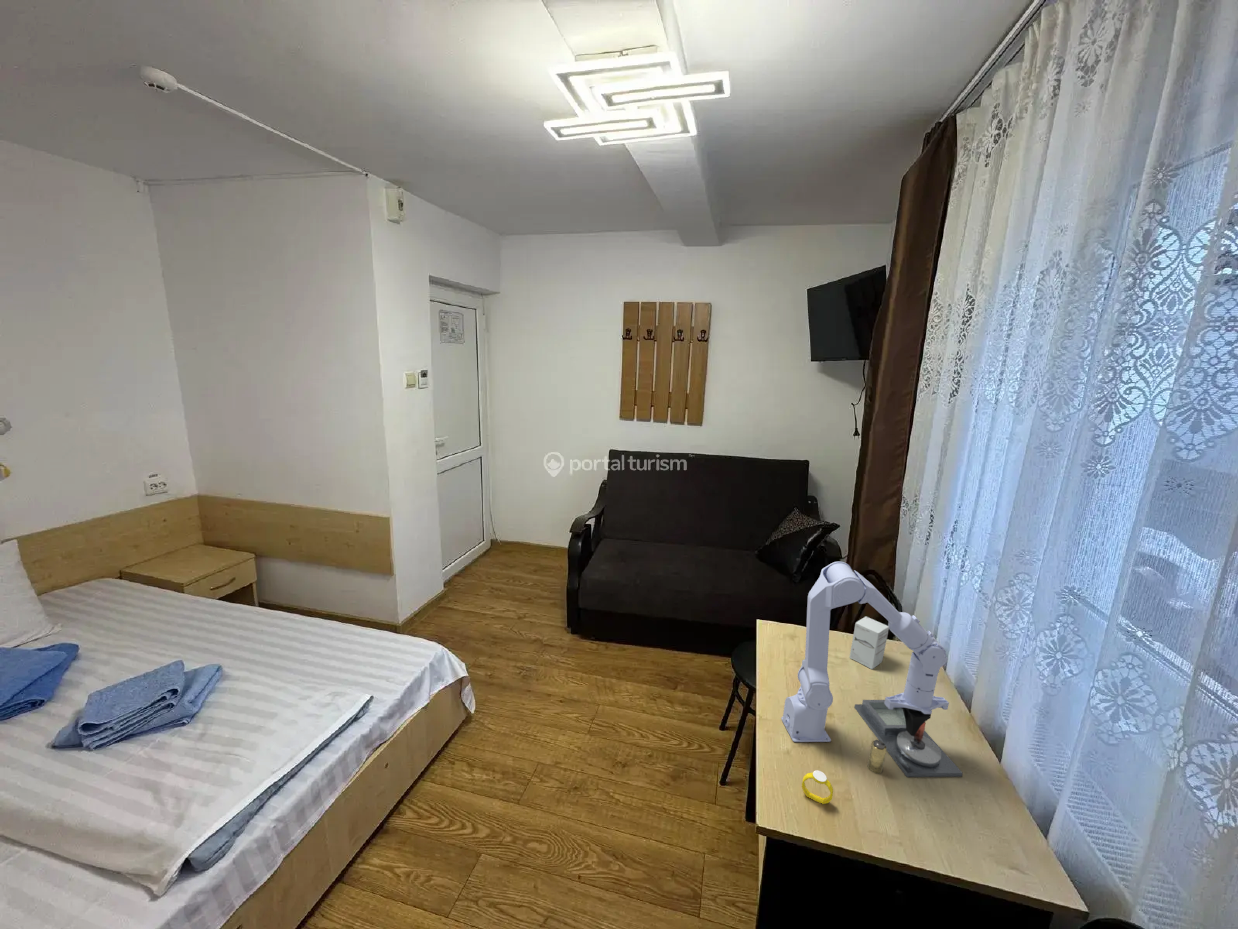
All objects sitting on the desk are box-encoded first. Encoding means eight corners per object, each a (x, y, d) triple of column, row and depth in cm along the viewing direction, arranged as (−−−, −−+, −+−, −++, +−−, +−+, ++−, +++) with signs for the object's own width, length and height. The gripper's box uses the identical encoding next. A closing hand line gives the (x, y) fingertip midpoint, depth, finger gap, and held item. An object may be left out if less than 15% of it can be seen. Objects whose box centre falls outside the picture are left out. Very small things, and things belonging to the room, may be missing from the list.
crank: (941, 773, 107) (946, 752, 106) (895, 755, 111) (899, 735, 110) (938, 746, 114) (943, 727, 113) (896, 731, 119) (899, 712, 118)
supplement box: (848, 658, 150) (854, 622, 148) (859, 650, 155) (865, 615, 152) (872, 670, 145) (878, 633, 142) (883, 662, 149) (890, 625, 147)
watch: (830, 801, 100) (836, 778, 99) (828, 811, 98) (835, 788, 97) (801, 786, 103) (806, 764, 102) (798, 796, 101) (804, 773, 99)
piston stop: (872, 773, 107) (876, 749, 106) (864, 762, 110) (869, 738, 109) (884, 773, 108) (889, 749, 106) (877, 762, 110) (881, 738, 109)
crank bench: (906, 777, 107) (909, 762, 106) (854, 707, 128) (856, 694, 127) (961, 776, 108) (965, 761, 107) (900, 707, 129) (902, 694, 128)
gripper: (901, 695, 108) (891, 745, 111) (962, 695, 109) (950, 745, 112) (883, 675, 115) (874, 723, 118) (940, 675, 116) (930, 723, 119)
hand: (910, 732), depth 115 cm, fingers closed
